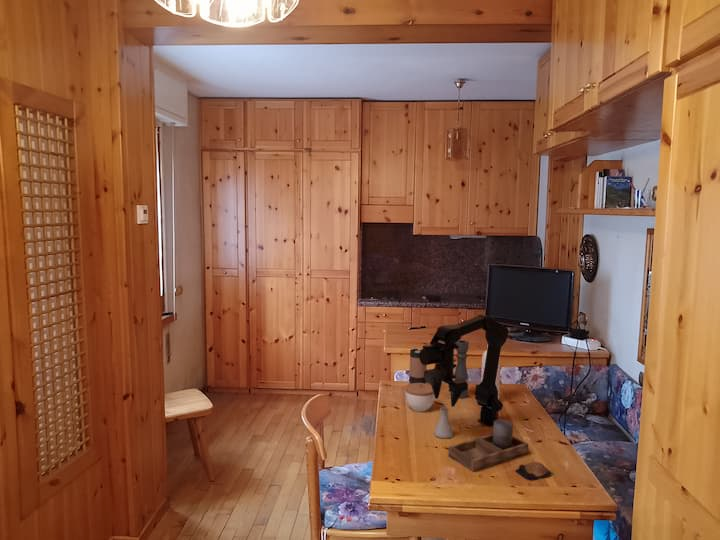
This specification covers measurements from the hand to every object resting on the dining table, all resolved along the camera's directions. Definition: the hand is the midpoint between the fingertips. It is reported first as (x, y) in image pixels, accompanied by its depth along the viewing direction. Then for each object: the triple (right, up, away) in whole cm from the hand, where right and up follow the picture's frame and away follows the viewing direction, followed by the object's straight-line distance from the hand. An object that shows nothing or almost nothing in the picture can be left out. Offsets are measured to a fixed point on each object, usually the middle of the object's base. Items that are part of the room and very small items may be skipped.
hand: (444, 402), depth 189 cm
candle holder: (+14, -8, +42) cm, 45 cm away
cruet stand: (+13, -14, -14) cm, 24 cm away
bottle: (+26, -9, +36) cm, 45 cm away
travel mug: (-5, -8, +45) cm, 46 cm away
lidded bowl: (-6, -10, +27) cm, 29 cm away
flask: (0, -13, +1) cm, 13 cm away
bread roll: (+24, -16, -26) cm, 39 cm away
